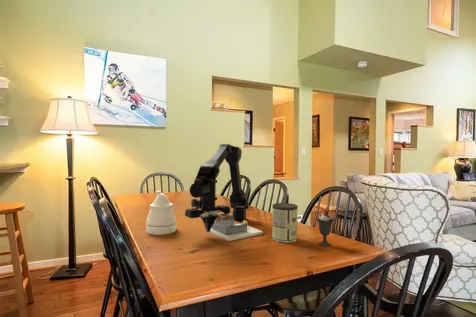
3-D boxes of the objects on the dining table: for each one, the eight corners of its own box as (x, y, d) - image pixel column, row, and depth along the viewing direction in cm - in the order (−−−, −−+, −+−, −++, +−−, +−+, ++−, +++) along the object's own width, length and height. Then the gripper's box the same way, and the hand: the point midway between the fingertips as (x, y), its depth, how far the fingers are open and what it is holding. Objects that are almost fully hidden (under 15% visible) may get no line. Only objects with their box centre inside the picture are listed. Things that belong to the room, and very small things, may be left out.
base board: (241, 226, 134) (241, 217, 134) (262, 234, 122) (263, 224, 121) (208, 231, 124) (208, 222, 124) (228, 241, 111) (229, 230, 111)
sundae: (324, 248, 104) (325, 208, 104) (312, 243, 110) (313, 205, 110) (337, 246, 107) (338, 207, 107) (324, 241, 113) (325, 204, 113)
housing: (232, 225, 130) (233, 219, 130) (247, 231, 121) (247, 224, 121) (212, 229, 123) (212, 222, 123) (225, 235, 114) (225, 228, 114)
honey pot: (160, 236, 116) (160, 193, 115) (139, 231, 122) (140, 190, 122) (181, 229, 127) (182, 190, 126) (162, 225, 133) (162, 188, 133)
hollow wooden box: (225, 222, 140) (225, 213, 140) (232, 225, 135) (232, 215, 135) (215, 224, 136) (215, 214, 136) (222, 227, 132) (222, 216, 132)
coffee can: (276, 234, 122) (276, 202, 122) (299, 237, 118) (300, 204, 117) (268, 240, 113) (269, 205, 112) (293, 244, 108) (294, 208, 108)
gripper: (217, 190, 127) (217, 224, 128) (179, 193, 116) (179, 230, 117) (231, 193, 118) (230, 230, 119) (191, 197, 107) (191, 237, 108)
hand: (208, 231), depth 116 cm, fingers closed
